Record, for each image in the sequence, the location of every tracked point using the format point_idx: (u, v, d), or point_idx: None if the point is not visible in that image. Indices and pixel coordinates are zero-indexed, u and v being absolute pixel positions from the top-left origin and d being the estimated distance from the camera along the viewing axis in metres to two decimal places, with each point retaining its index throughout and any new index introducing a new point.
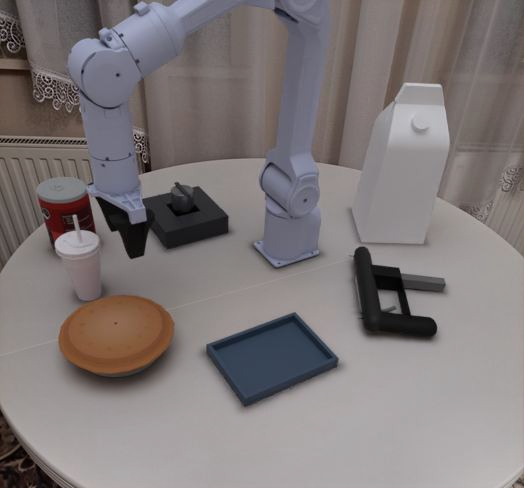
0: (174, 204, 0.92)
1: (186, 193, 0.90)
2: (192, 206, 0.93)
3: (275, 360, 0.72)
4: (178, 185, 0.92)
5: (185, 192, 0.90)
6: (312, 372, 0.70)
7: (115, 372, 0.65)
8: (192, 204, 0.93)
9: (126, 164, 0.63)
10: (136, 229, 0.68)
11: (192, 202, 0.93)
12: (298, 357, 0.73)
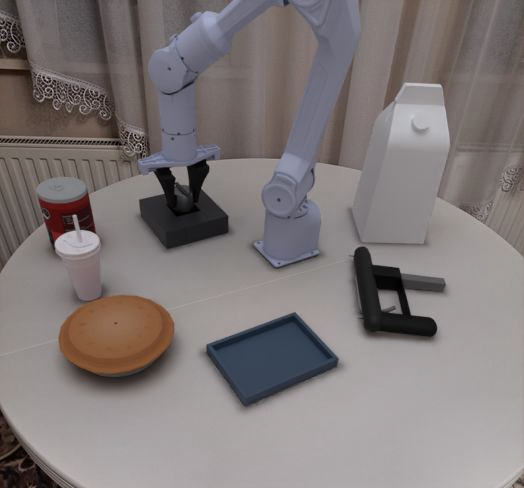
0: None
1: (186, 193, 0.90)
2: (192, 206, 0.93)
3: (275, 360, 0.72)
4: (178, 185, 0.92)
5: (185, 192, 0.90)
6: (312, 372, 0.70)
7: (115, 372, 0.65)
8: (192, 204, 0.93)
9: (165, 137, 0.83)
10: None
11: (192, 202, 0.93)
12: (298, 357, 0.73)
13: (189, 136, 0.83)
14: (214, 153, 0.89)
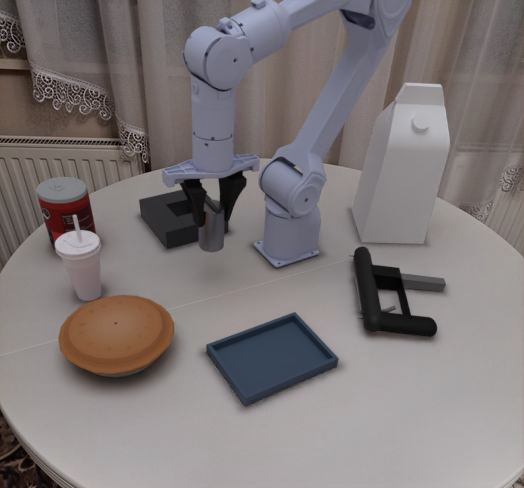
0: None
1: (217, 210, 0.75)
2: (222, 225, 0.78)
3: (275, 360, 0.72)
4: (207, 200, 0.77)
5: (216, 209, 0.76)
6: (312, 372, 0.70)
7: (115, 372, 0.65)
8: (223, 223, 0.78)
9: (197, 142, 0.68)
10: None
11: (223, 220, 0.78)
12: (298, 357, 0.73)
13: (227, 142, 0.68)
14: (253, 163, 0.74)
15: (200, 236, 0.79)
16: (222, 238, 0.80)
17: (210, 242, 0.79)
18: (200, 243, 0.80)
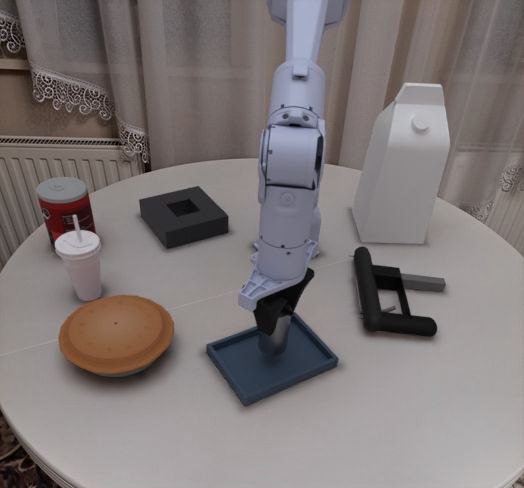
0: None
1: (289, 312, 0.65)
2: None
3: (275, 360, 0.72)
4: None
5: (286, 311, 0.65)
6: (312, 372, 0.70)
7: (115, 372, 0.65)
8: None
9: (275, 253, 0.57)
10: (267, 308, 0.63)
11: None
12: (298, 357, 0.73)
13: (307, 243, 0.58)
14: (313, 250, 0.65)
15: (266, 342, 0.68)
16: None
17: (279, 346, 0.68)
18: (265, 349, 0.69)
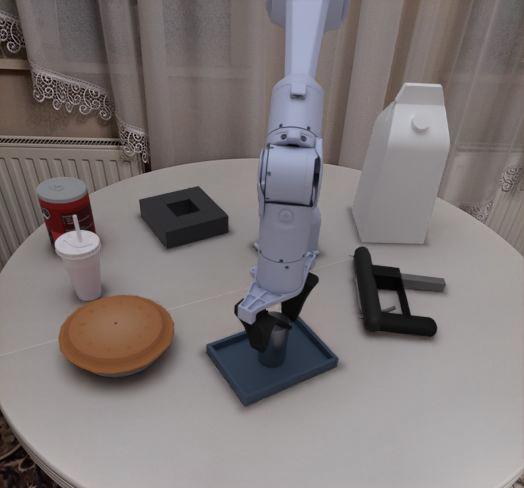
0: (270, 342, 0.68)
1: (287, 325, 0.67)
2: None
3: None
4: None
5: (284, 324, 0.67)
6: (312, 372, 0.70)
7: (115, 372, 0.65)
8: None
9: (274, 267, 0.58)
10: (259, 326, 0.63)
11: None
12: (298, 357, 0.73)
13: (305, 257, 0.59)
14: (311, 263, 0.66)
15: (265, 354, 0.70)
16: (286, 348, 0.71)
17: (278, 358, 0.70)
18: (264, 361, 0.71)
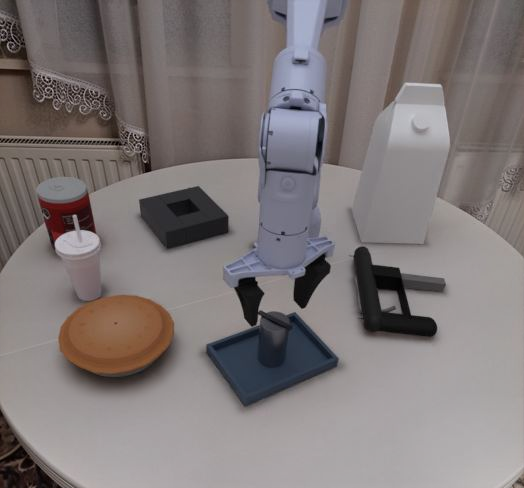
0: (270, 342, 0.68)
1: (287, 325, 0.67)
2: None
3: None
4: (266, 315, 0.68)
5: (284, 324, 0.67)
6: (312, 372, 0.70)
7: (115, 372, 0.65)
8: None
9: None
10: None
11: None
12: (298, 357, 0.73)
13: None
14: None
15: (265, 354, 0.70)
16: (286, 348, 0.71)
17: (278, 358, 0.70)
18: (264, 361, 0.71)
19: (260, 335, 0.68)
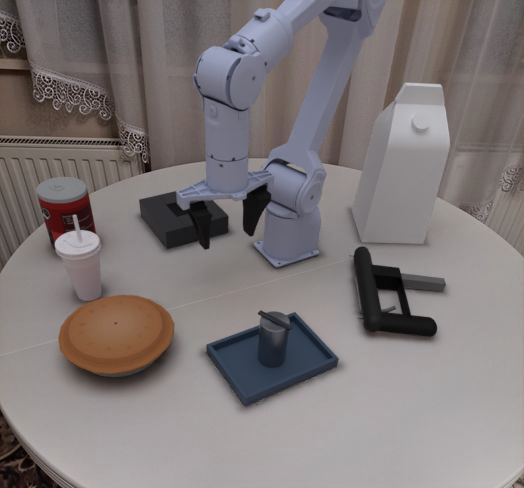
0: (270, 342, 0.68)
1: (287, 325, 0.67)
2: None
3: None
4: (266, 315, 0.68)
5: (284, 324, 0.67)
6: (312, 372, 0.70)
7: (115, 372, 0.65)
8: None
9: None
10: None
11: None
12: (298, 357, 0.73)
13: None
14: None
15: (265, 354, 0.70)
16: (286, 348, 0.71)
17: (278, 358, 0.70)
18: (264, 361, 0.71)
19: (260, 335, 0.68)
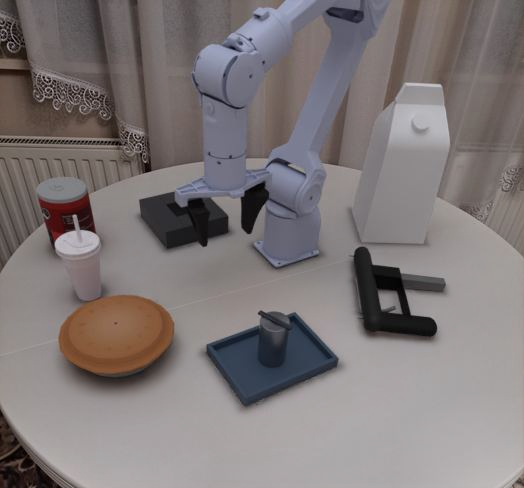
0: (270, 342, 0.68)
1: (287, 325, 0.67)
2: None
3: None
4: (266, 315, 0.68)
5: (284, 324, 0.67)
6: (312, 372, 0.70)
7: (115, 372, 0.65)
8: None
9: None
10: None
11: None
12: (298, 357, 0.73)
13: None
14: (182, 189, 0.69)
15: (265, 354, 0.70)
16: (286, 348, 0.71)
17: (278, 358, 0.70)
18: (264, 361, 0.71)
19: (260, 335, 0.68)
